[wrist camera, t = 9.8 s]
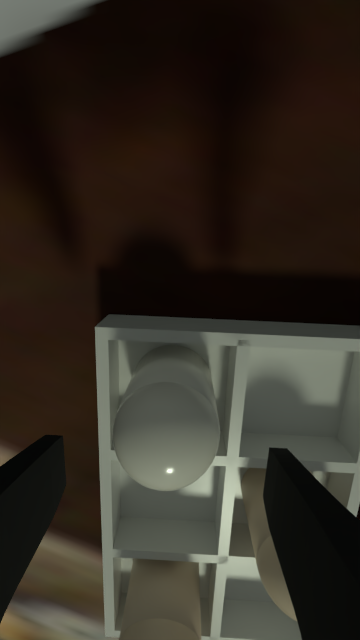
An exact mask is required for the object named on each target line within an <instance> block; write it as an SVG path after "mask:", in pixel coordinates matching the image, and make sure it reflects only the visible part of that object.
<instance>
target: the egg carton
mask: <svg viewBox="0 0 360 640" xmlns="http://www.w3.org/2000/svg"><path fill="white" fill-rule="evenodd" d="M95 342H96V372H97V402H98V432H99V462H100V492H101V522H102V552H103V583H104V613H105V637H119V640H302V638H301V633H300V629H299V626H298V622H297V618H296V615H295V611H294V608H293V605H292V601H291V598H290V595H289V592H288V589H287V585H286V582H285V579H284V576H283V573H282V569H281V566H280V563H279V560H278V557H277V553H276V550H275V547H274V543H273V540H272V537H271V534H270V530H269V526H268V521H267V516H266V511H265V506H264V500H263V490H264V483H265V475H266V468H267V460H268V453H269V447H272V448H287V449H288V450H289V451H290V452H291V453H292V454H293V455H294V456H295V457H296V458H297V459H298V460H299V461H300V462H301V463H302V464H303V465H304V467H305V468H306V469H307V470H308V471H309V472H310V473H311V474H312V475H313V476H314V477H315V478H316V479H317V480H318V481H319V482H320V483H321V484H322V485H323V486H324V487H325V488H326V489H327V490H328V491H329V492H330V493H331V494H332V495H333V496H334V497H335V498H336V499H337V500H338V501H339V502H340V503H341V504H342V505H343V506H344V507H345V508H347V509H348V510H349V511H350V512H351V513H352V514H353V515H354V516H355V517H357V512H358V508H359V504H360V326H356V325H334V324H312V323H290V322H268V321H246V320H224V319H202V318H180V317H158V316H137V315H115V314H109V315H108V316H106V317H105V318H104V319H103V320H102V321H101V322H100V323H99V324H98V325H97V326H95ZM164 345H179V346H184V347H187V348H189V349H191V350H193V351H195V352H196V353H198V354H199V355H200V356H201V357H202V358H203V359H204V360H205V362H206V363H207V365H208V367H209V369H210V372H211V376H212V382H213V388H214V394H215V400H216V406H217V412H218V419H219V425H220V440H219V446H218V450H217V453H216V456H215V458H214V460H213V462H212V464H211V465H210V467H209V468H208V470H207V471H206V472H205V473H204V474H203V475H202V476H201V477H200V478H199V479H198V480H197V481H195V482H194V483H192V484H190V485H188V486H186V487H184V488H181V489H177V490H172V491H158V490H153V489H150V488H147V487H145V486H143V485H141V484H139V483H138V482H136V481H135V480H133V479H132V478H131V477H130V476H129V475H128V474H127V473H126V471H125V470H124V469H123V467H122V466H121V464H120V463H119V461H118V458H117V456H116V453H115V450H114V445H113V424H114V420H115V416H116V413H117V411H118V408H119V406H120V403H121V401H122V399H123V396H124V394H125V392H126V389H127V387H128V385H129V382H130V380H131V377H132V375H133V373H134V370H135V368H136V366H137V364H138V362H139V361H140V359H141V358H142V357H143V356H144V355H145V354H146V353H148V352H149V351H151V350H153V349H155V348H157V347H160V346H164Z"/></svg>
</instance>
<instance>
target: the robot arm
mask: <svg viewBox="0 0 360 640" xmlns="http://www.w3.org/2000/svg"><path fill="white" fill-rule="evenodd" d="M65 486H66V475H65V461H64V446H63V436H58V435H45V436H43V437H42V438H40V439H39V440H37V441H36V442H34V443H33V444H31V445H30V446H29V447H27V448H26V449H24V450H23V451H22V452H20V453H19V454H17V455H16V456H15V457H13V458H12V459H10V460H9V461H7V462H6V463H5V464H3V465H2V466H0V623H1V620H2V618H3V616H4V613H5V611H6V609H7V607H8V605H9V603H10V601H11V599H12V596H13V594H14V592H15V590H16V588H17V586H18V584H19V583H20V581H21V579H22V577H23V575H24V573H25V571H26V569H27V567H28V565H29V563H30V561H31V560H32V558H33V556H34V554H35V552H36V550H37V548H38V546H39V544H40V542H41V540H42V538H43V536H44V535H45V533H46V531H47V529H48V527H49V525H50V523H51V521H52V519H53V517H54V515H55V512H56V510H57V507H58V505H59V502H60V500H61V497H62V494H63V491H64V489H65ZM263 500H264V506H265V511H266V516H267V521H268V526H269V530H270V534H271V537H272V540H273V543H274V547H275V550H276V553H277V557H278V560H279V563H280V566H281V569H282V573H283V576H284V579H285V582H286V585H287V589H288V592H289V595H290V598H291V601H292V605H293V608H294V611H295V615H296V618H297V622H298V626H299V629H300V633H301V638H302V640H360V520H359V519H358V518H357V517H355V516H354V515H353V514H352V513H351V512H350V511H349V510H348V509H347V508H345V507H344V506H343V505H342V504H341V503H340V502H339V501H338V500H337V499H336V498H335V497H334V496H333V495H332V494H331V493H330V492H329V491H328V490H327V489H326V488H325V487H324V486H323V485H322V484H321V483H320V482H319V481H318V480H317V479H316V478H315V477H314V476H313V475H312V474H311V473H310V472H309V471H308V470H307V469H306V468H305V467H304V465H303V464H302V463H301V462H300V461H299V460H298V459H297V458H296V457H295V456H294V455H293V454H292V453H291V452H290V451H289V450H288V449H287V448H272V447H269V453H268V460H267V468H266V475H265V483H264V490H263Z"/></svg>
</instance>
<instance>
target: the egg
mask: <svg viewBox="0 0 360 640" xmlns="http://www.w3.org/2000/svg"><path fill="white" fill-rule="evenodd" d="M219 440H220V425H219V419H218V412H217V406H216V400H215V394H214V388H213V382H212V376H211V372H210V369H209V367H208V365H207V363H206V362H205V360H204V359H203V358H202V357H201V356H200V355H199V354H198V353H196V352H195V351H193V350H191V349H189V348H187V347H184V346H179V345H164V346H160V347H157V348H155V349H153V350H151V351H149V352H148V353H146V354H145V355H144V356H143V357H142V358H141V359H140V361H139V362H138V364H137V366H136V368H135V370H134V373H133V375H132V377H131V380H130V382H129V385H128V387H127V389H126V392H125V394H124V396H123V399H122V401H121V403H120V406H119V408H118V411H117V413H116V416H115V420H114V424H113V445H114V450H115V453H116V456H117V458H118V461H119V463H120V464H121V466H122V467H123V469H124V470H125V471H126V473H127V474H128V475H129V476H130V477H131V478H132V479H133V480H135V481H136V482H138V483H139V484H141V485H143V486H145V487H147V488H150V489H153V490H158V491H172V490H177V489H181V488H184V487H186V486H188V485H190V484H192V483H194V482H195V481H197V480H198V479H199V478H200V477H201V476H202V475H203V474H204V473H205V472H206V471H207V470H208V468H209V467H210V465H211V464H212V462H213V460H214V458H215V456H216V453H217V450H218V446H219Z"/></svg>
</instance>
